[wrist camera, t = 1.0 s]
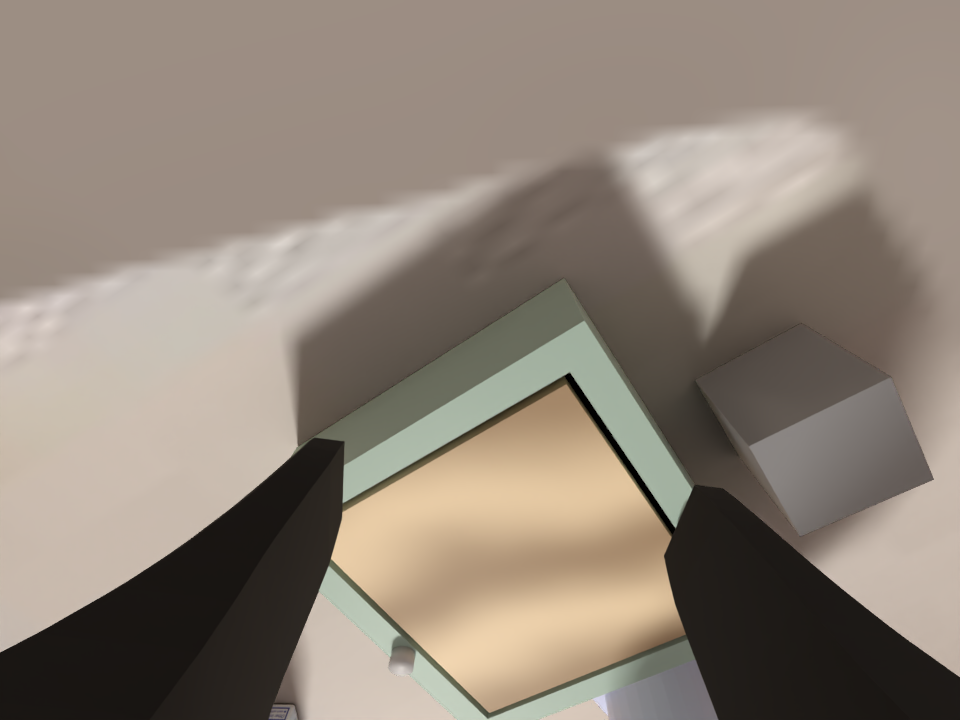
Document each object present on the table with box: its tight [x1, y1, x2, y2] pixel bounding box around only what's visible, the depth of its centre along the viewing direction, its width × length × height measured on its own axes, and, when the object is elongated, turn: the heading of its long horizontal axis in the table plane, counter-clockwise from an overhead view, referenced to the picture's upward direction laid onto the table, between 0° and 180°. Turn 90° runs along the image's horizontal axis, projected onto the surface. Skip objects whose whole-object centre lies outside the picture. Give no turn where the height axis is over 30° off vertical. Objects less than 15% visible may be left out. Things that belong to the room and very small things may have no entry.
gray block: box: [695, 323, 934, 537], centre depth 19 cm, size 4×4×5 cm
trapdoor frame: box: [291, 278, 695, 720], centre depth 21 cm, size 15×14×6 cm
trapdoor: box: [331, 376, 686, 713], centre depth 20 cm, size 12×11×3 cm
